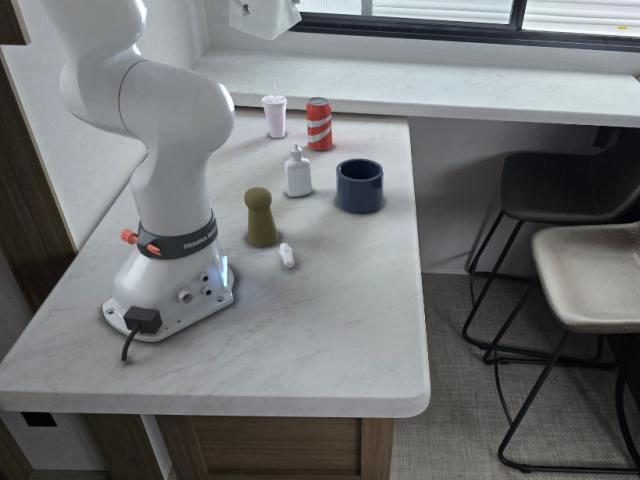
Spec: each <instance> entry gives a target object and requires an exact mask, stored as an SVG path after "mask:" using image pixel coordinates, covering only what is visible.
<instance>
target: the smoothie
mask: <svg viewBox="0 0 640 480" xmlns="http://www.w3.org/2000/svg"><path fill="white" fill-rule="evenodd" d="M271 86H272V87H271V88H272V94H267V95H264V96H263V97H261V105H262V106H263V110H264V113H265V119H266V122H267V127H268V131H269V136H270V137H271V138H274V139H281V138H284V137H285V133H286V132H285V130H286V111H287V104H288V101H287V97H286V96H285V95H281V94H276V86H275V80H272V81H271Z"/></svg>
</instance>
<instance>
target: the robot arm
mask: <svg viewBox="0 0 640 480" xmlns="http://www.w3.org/2000/svg"><path fill="white" fill-rule="evenodd" d="M34 1H35V3H36V4H37V6H38V8H39V9H40V11H41V12H42V14H43V16H44V17H45V19H46V20H47V22H48V24H49V25H50V27H51V28H52V31H54V34H55V36H56V37H57V39H58V41H59V43H60V46H61V48H62V51H63V54H64V57H65V64H64V66H63V67H62V69H61V71H60V76H59V82H58V83H59V93H60V97H61V101H62V103H63V105H64V106H65V108H66V110H67V111H68V112H69V113H70V114H71V115H72V116H73V117H75V118H76V119H78V120H80V121H82V122H84V123H85V124H87V125H89V126H91V127H93V128H95V129H98V130H99V131H102V132H104V133H108V134H111V135H117V136H120V137H125V138H129V139H132V140H136V141H140V142H141V143H142V144H143V146H144V147H145V150H146V152H147V159H145V160H144V161H142V162H141V163H140V164H138V165H137V167H135V169H134V171H133V172H132V175H131V176H130V181H129V187H130V191H131V194H132V197H133V201H134V204H135V207H136V210H137V215H138V218H139V221H138V228H137V233H136V232H133V231H132V230H131V229H128V228H126V229H123V230H122V231H121V232H120V237H119V238H120V239H121V241H123V242H124V243H127V244H128V245H136V246H135V248H134V249H133V251H131V254H130V255H128V257H127V259H126V260H125V262H124V264H123V265H122V266H121V268H120V269H119V270H118V272H117V273H116V274H115V275H114V277H113V278H112V284H111V285H112V287H111V288H112V296H111V297H110V298H109V299H107V300H106V301H105V302H104V303H103V304H102V313H103V316H104V319H105V320H106V321H107V322H108V324H109V325H110V326H112V327H113V328H114V329H115V330H117V331H118V332H119V333H122V335H124V336H126V337H127V338H126V340H125V342H124V344H123V347H122V351H121V358H120V361H123V362H126V361H127V359H128V352H129V348H130V346H131V344H132V341H133V340H136V341H140V342H147V343H148V342H149V343H157V342H160V341H163V340H165V339H166V338H168V337H170V336H172V335H174V334H176V333H177V332H178V333H179V332H180V331H181V330H183V329H185V328H187V327H189V326H191V325H193V324H195V323H197V322H199V321H201V320H203V319H205V318H206V317H209V316H210V315H212V314H215V313H216V312H218V311H220V310H222V309H224V308H227V307H228V306H230V305H232V304H233V303H234V295H233V292H232V290H233V287H234V283H235V275H234V273H233V271H232V269H231V268H230V266H229V264H228V258H227V255H225V256H224V253H223V250H222V247H221V244H220V240H219V238H218V234H219V229H218V224H217V222H218V221H217V218H216V215H215V212H214V210H213V209H212V207H211V202H210V196H209V190H208V183H207V167H208V163H209V160H210V158H211V156H212V155H213V154H214V153H215V152H216V151H217V150H219V149H221V148H222V147H223V146H224V145H225V144H226V143H227V142H228V141H229V138H230V137H231V135H232V133H233V131H234V128H235V123H236V111H235V110H236V109H235V105H234V101H233V98H232V96H231V94H230V92H229V90H228V88H227V87H226V86H225V85H224V84H223V83H221V82H219V81H217V80H216V79H213V78H211V77H209V76H207V75H205V74H202V73H200V72H198V71H196V70H193V69H190V68H187V67H181V66H176V65H171V64H166V63H161V62H157V61H153V60H150V59H149V58H147V57H146V56H145V55H144V54H143V53H142V52H141V51H140V48H139V47H138V45H137V43H138V42H139V40H140V39H141V38H142V37H143V35H144V33H145V30H146V27H147V24H148V19H149V10H148V6H147V3H146V1H145V0H34ZM232 1H233V3H234V4H235V5H236V6H237V7H238V8H239V9H240V11H241V14H242V16H243V18H249V17H252V13H251V10H250V7H249V4H248V3H245V4H243V3H242V2H241V0H232ZM299 4H301V1H300V0H291V5H292V6H295V5H299Z"/></svg>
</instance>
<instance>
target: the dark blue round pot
mask: <svg viewBox="0 0 640 480" xmlns="http://www.w3.org/2000/svg"><path fill="white" fill-rule="evenodd" d="M384 171H385V170H384V167H383V166H382V164H380V163H379V162H377V161H375V160H372V159H369V158H368V159H367V158H360V157H359V158H357V157H355V158H350V159H346V160H343V161H341V162H340V163H339V164H338V165H336V169H335V181H336V184H335V185H336V204H337V205H338V207H339V208H340V209H341V210H343V211H345V212H347V213H351V214H355V215H356V214H358V215H359V214H360V215H364V214H370V213H374V212H376V211H378V210H379V209H380V208H381V207H382V205H383V201H384V199H383V198H384V196H383V195H384V176H385V175H384V174H385V172H384Z"/></svg>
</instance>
